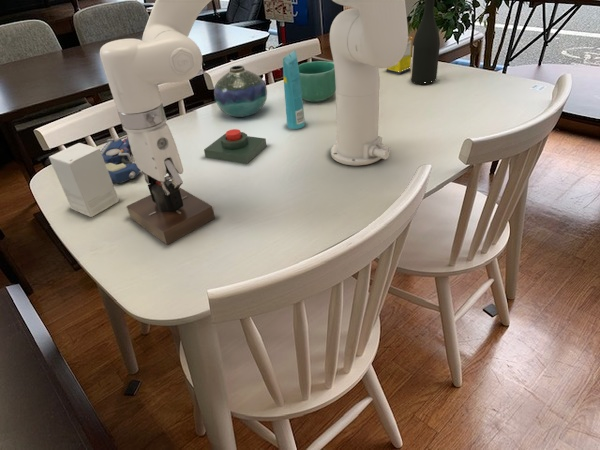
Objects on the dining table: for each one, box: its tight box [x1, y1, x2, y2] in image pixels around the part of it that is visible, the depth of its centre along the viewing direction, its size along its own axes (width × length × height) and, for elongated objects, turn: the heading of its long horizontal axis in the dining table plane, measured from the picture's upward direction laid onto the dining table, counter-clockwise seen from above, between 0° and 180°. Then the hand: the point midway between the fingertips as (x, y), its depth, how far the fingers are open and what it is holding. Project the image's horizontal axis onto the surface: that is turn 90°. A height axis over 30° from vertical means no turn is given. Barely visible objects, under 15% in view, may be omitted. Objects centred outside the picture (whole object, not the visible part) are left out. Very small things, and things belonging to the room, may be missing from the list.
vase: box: [213, 65, 268, 118], centre depth 131 cm, size 15×15×13 cm
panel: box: [126, 187, 216, 246], centre depth 90 cm, size 14×11×3 cm
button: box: [225, 128, 242, 141], centre depth 111 cm, size 4×4×2 cm
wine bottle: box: [410, 0, 441, 86], centre depth 137 cm, size 8×8×30 cm
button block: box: [203, 131, 268, 165], centre depth 113 cm, size 12×10×4 cm
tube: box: [282, 49, 306, 130], centre depth 119 cm, size 7×5×19 cm, turn 162°
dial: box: [151, 180, 172, 212], centre depth 88 cm, size 4×4×5 cm
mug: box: [298, 60, 336, 103], centre depth 139 cm, size 17×13×10 cm
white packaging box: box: [48, 142, 120, 218], centre depth 94 cm, size 7×7×13 cm
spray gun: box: [100, 134, 141, 184], centre depth 111 cm, size 21×4×15 cm
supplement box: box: [386, 35, 413, 75], centre depth 153 cm, size 6×6×11 cm
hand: (168, 203), depth 89 cm, fingers open, 4 cm apart
